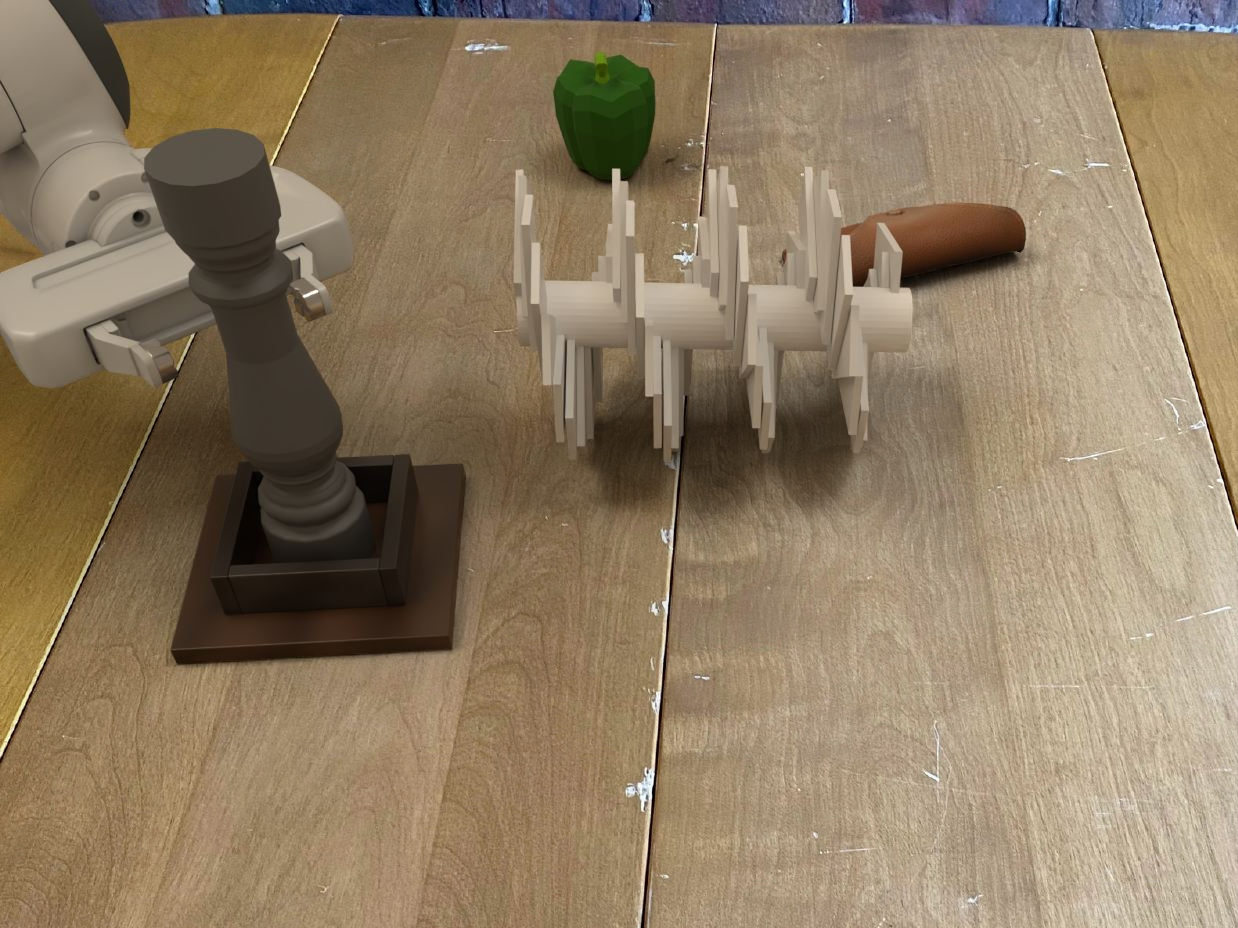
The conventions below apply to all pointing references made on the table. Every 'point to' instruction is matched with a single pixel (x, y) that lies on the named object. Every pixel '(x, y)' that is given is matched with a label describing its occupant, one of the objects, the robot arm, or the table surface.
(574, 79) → the bell pepper
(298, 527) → the grey baluster post
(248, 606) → the socket pad
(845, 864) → the table surface
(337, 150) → the table surface
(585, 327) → the spiral staircase
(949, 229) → the sunglasses case
